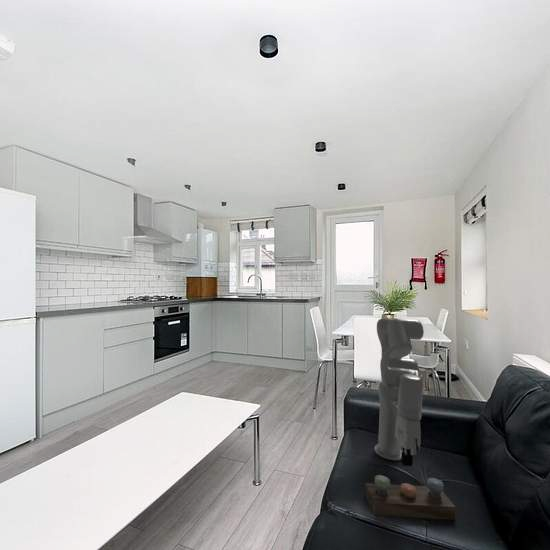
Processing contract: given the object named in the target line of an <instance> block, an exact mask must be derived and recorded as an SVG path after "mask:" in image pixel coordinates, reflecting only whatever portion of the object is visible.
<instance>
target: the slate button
mask: <svg viewBox="0 0 550 550" xmlns="http://www.w3.org/2000/svg"><path fill="white" fill-rule="evenodd" d="M426 483H427V485H426V486H427V487H428V488H429V489H430V496H431V498H432V499H440V495H441V493H442V492H443V493H444V482H443V481H441V479H438V478H435V477H428V479H427V482H426Z"/></svg>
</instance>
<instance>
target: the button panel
mask: <svg viewBox="0 0 550 550" xmlns="http://www.w3.org/2000/svg"><path fill="white" fill-rule="evenodd" d="M364 486H365V487H364V497H365V498H366V501H367V503H368V505H369V507H370V509H371V512H372V513H373V515H374V516H377V517H393V518H395V517H397V518H411V519H413V518H415V519H435V520H436V519H437V520H451V521H452V520H456V506H455V504H454V503H453V502H452V501H451V500H450V498H449V497H448V496H447V495H446V494H445V492H444V491H443V492H442V493H441V495H440V499H432V498H431V496H430V489H429V488H428V487H427V485H426V486H425V485H413V486H414V487H415V488H416V498H414V499H410V498H405V496H403V495H402V494H401V484H390V488H389V489H388V490H387V497H382V496H378V494H377V487H376V486H375V483H365V485H364Z"/></svg>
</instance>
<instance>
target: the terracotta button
mask: <svg viewBox="0 0 550 550" xmlns="http://www.w3.org/2000/svg"><path fill="white" fill-rule="evenodd" d="M400 485H401V494H402V495H403V496H405V498H410V499H414V498H416V488H415V487H414V486H415V485H413V484H410V483H404V482H403V483H401V484H400Z"/></svg>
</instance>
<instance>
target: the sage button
mask: <svg viewBox="0 0 550 550" xmlns="http://www.w3.org/2000/svg"><path fill="white" fill-rule="evenodd" d="M374 484H375V486H376V487H377V494H378V496H382V497H387V490H388V489H389V488H390V485H391V481H390V478H388V477H387V476H385V475H381V474H378V475H375V476H374Z"/></svg>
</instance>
